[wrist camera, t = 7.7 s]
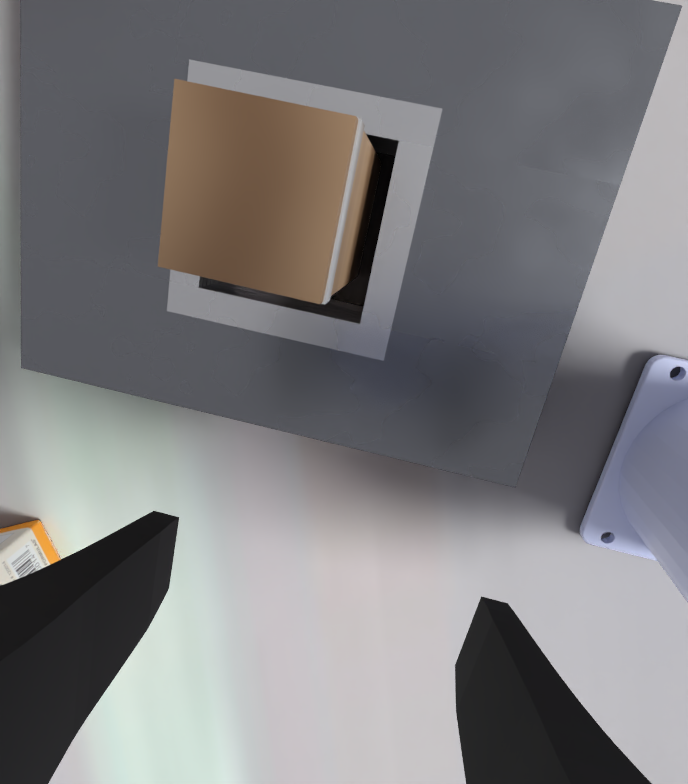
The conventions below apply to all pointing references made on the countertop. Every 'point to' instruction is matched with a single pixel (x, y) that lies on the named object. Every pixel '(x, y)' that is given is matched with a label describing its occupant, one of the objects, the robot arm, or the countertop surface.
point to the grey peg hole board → (399, 223)
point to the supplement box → (24, 550)
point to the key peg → (266, 192)
